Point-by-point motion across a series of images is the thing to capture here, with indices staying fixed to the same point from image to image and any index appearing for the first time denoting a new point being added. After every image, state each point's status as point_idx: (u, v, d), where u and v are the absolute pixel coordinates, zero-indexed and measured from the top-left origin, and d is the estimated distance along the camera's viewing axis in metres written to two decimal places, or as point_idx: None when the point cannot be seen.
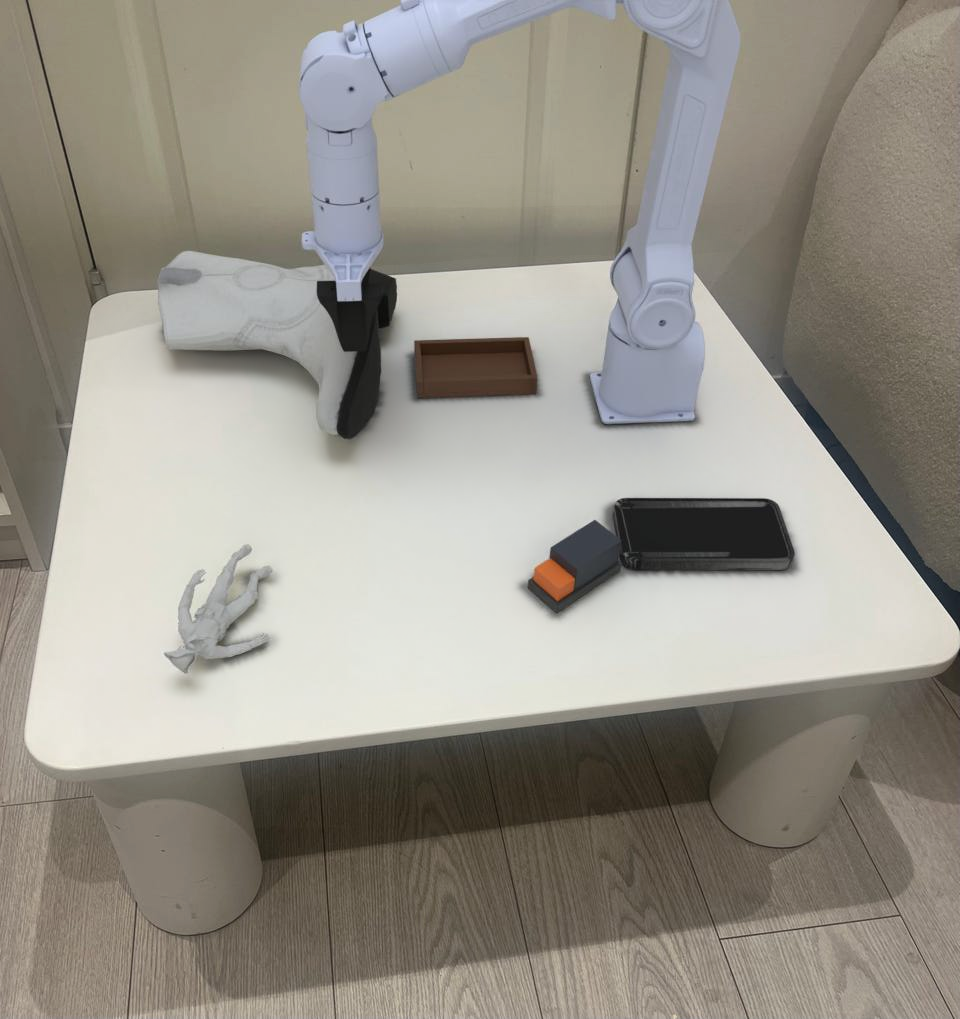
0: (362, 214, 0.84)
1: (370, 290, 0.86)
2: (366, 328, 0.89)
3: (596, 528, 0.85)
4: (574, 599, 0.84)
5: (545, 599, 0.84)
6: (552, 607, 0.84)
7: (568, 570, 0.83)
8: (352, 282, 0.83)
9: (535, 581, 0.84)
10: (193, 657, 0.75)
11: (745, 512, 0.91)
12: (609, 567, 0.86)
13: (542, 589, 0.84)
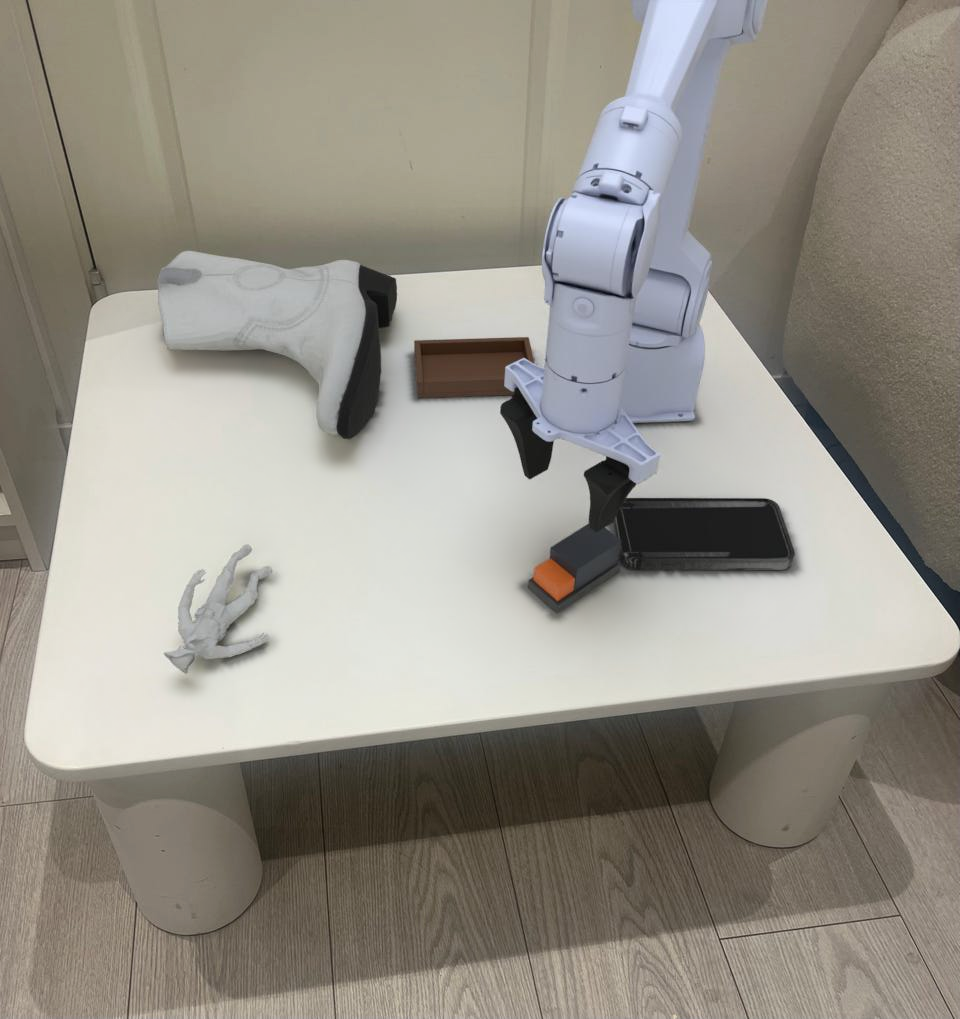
0: (622, 381, 0.72)
1: None
2: (624, 497, 0.77)
3: None
4: (574, 599, 0.84)
5: (545, 599, 0.84)
6: (552, 607, 0.84)
7: (568, 570, 0.83)
8: (654, 458, 0.71)
9: (535, 581, 0.84)
10: (193, 657, 0.75)
11: (745, 512, 0.91)
12: (609, 567, 0.86)
13: (542, 589, 0.84)
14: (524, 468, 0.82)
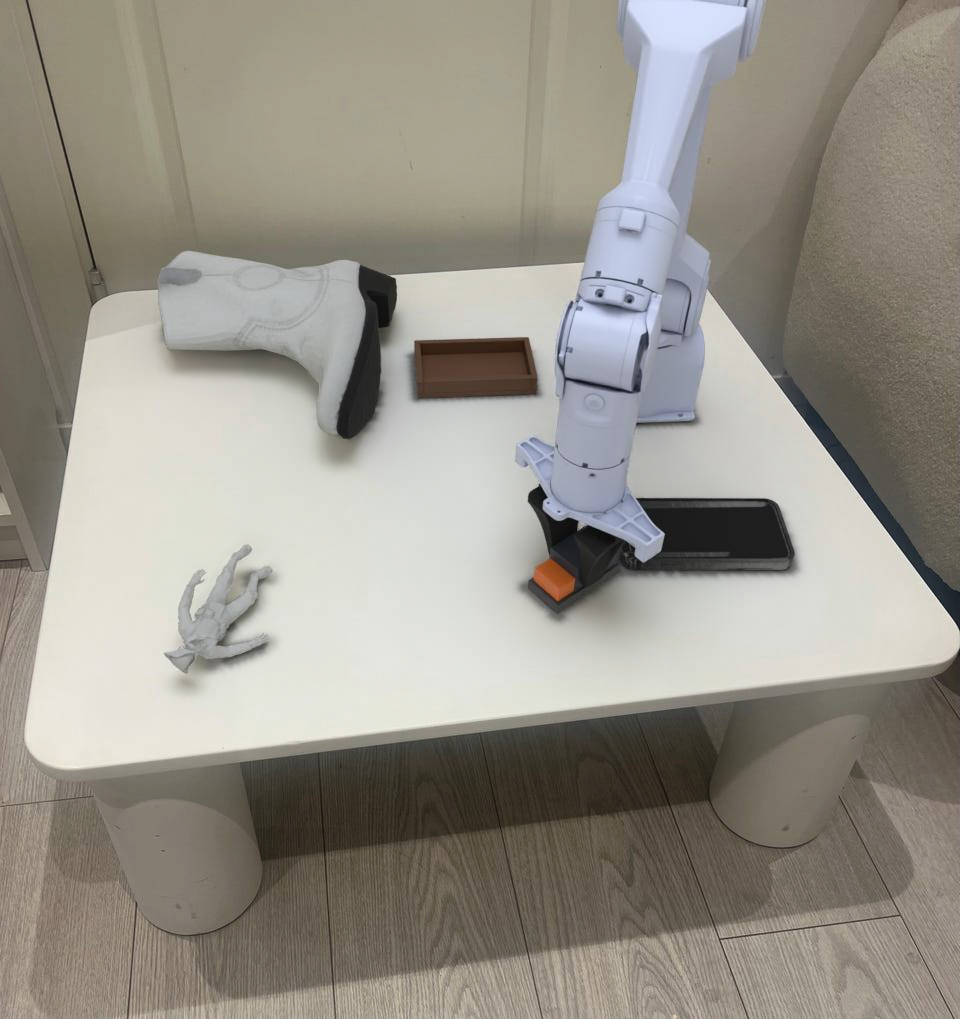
0: (628, 464, 0.76)
1: None
2: (613, 556, 0.82)
3: None
4: (574, 599, 0.84)
5: (545, 599, 0.84)
6: (552, 607, 0.84)
7: (568, 570, 0.83)
8: (658, 538, 0.75)
9: (535, 581, 0.84)
10: (193, 657, 0.75)
11: (745, 512, 0.91)
12: (609, 567, 0.86)
13: (542, 589, 0.84)
14: None
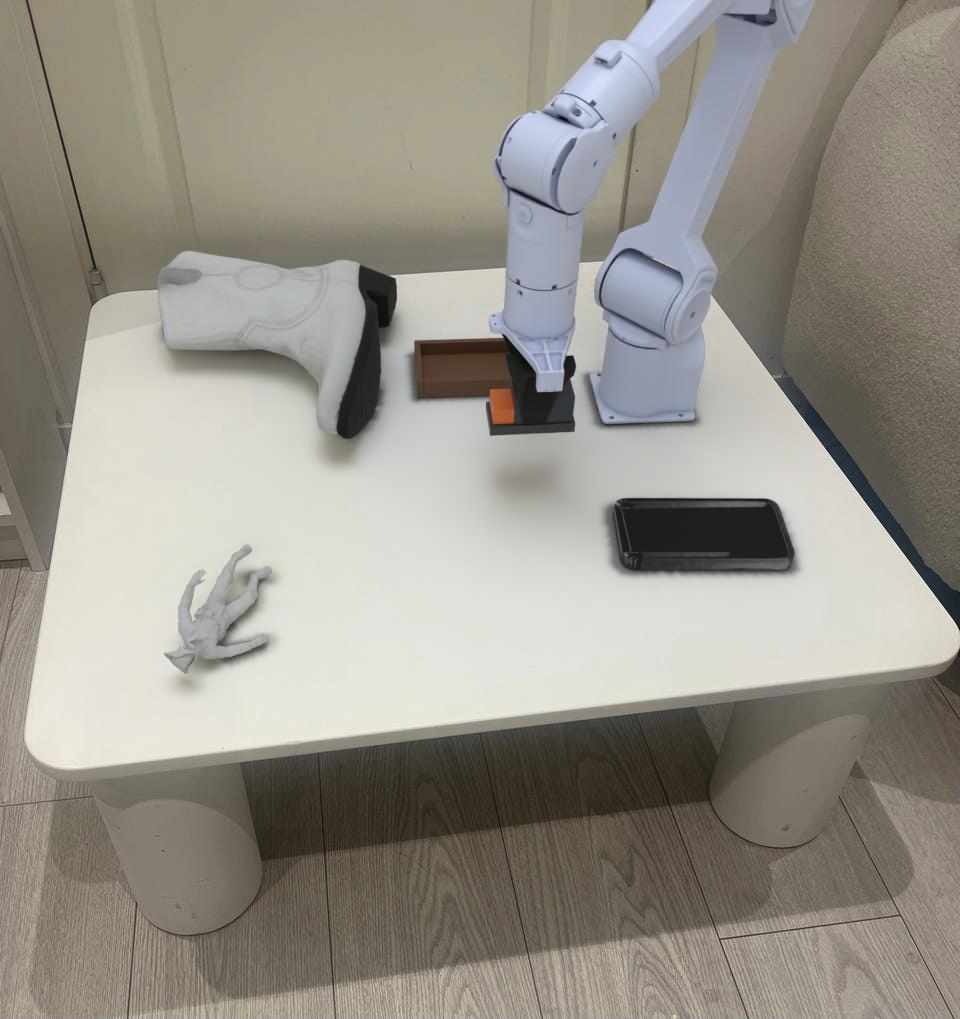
0: (563, 299, 0.79)
1: (563, 363, 0.82)
2: (552, 400, 0.85)
3: None
4: (512, 432, 0.89)
5: (488, 421, 0.89)
6: (489, 429, 0.89)
7: (513, 400, 0.87)
8: (556, 373, 0.78)
9: (489, 404, 0.90)
10: (193, 657, 0.75)
11: (745, 512, 0.91)
12: (560, 420, 0.88)
13: (490, 412, 0.89)
14: None
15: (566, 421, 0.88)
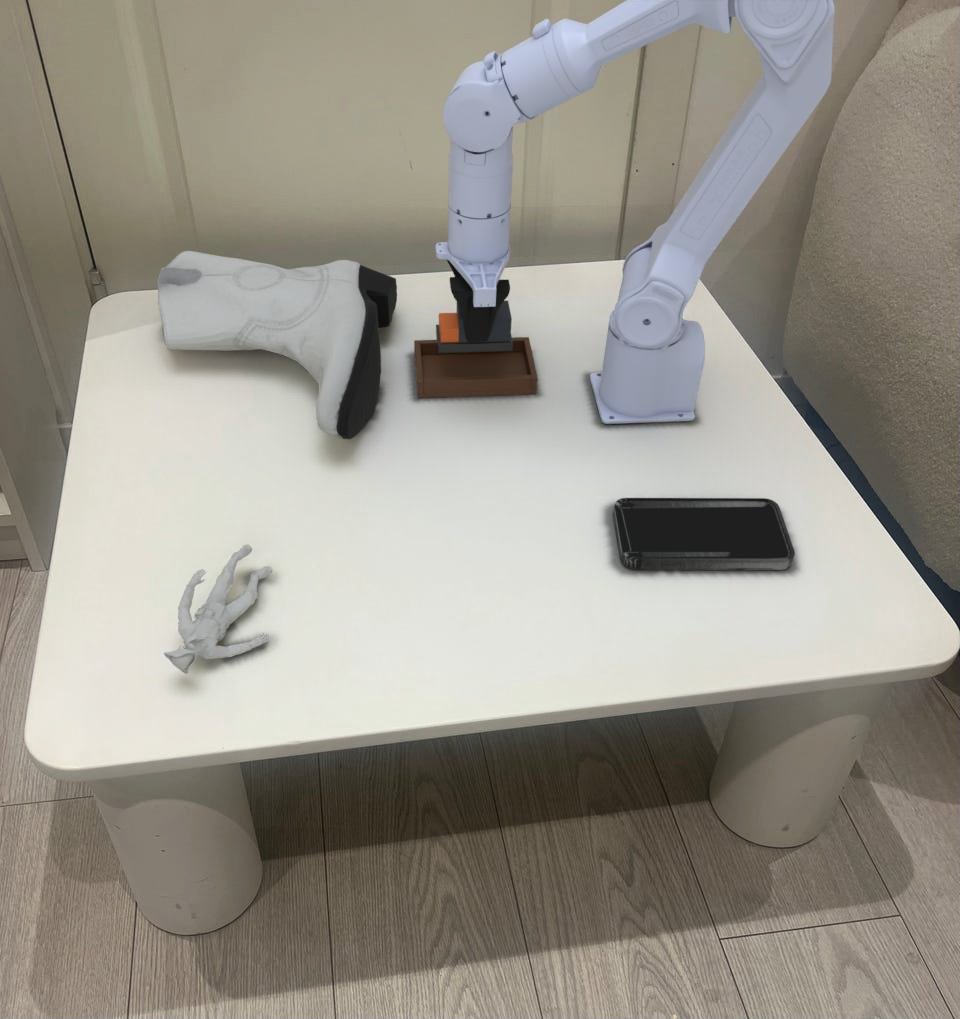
0: (496, 227, 0.92)
1: (498, 285, 0.95)
2: (491, 320, 0.98)
3: (502, 305, 1.01)
4: (458, 350, 1.02)
5: (437, 341, 1.02)
6: None
7: (458, 322, 1.00)
8: (489, 289, 0.91)
9: (438, 326, 1.03)
10: (193, 657, 0.75)
11: (745, 512, 0.91)
12: (499, 340, 1.01)
13: (438, 333, 1.02)
14: None
15: (504, 341, 1.01)
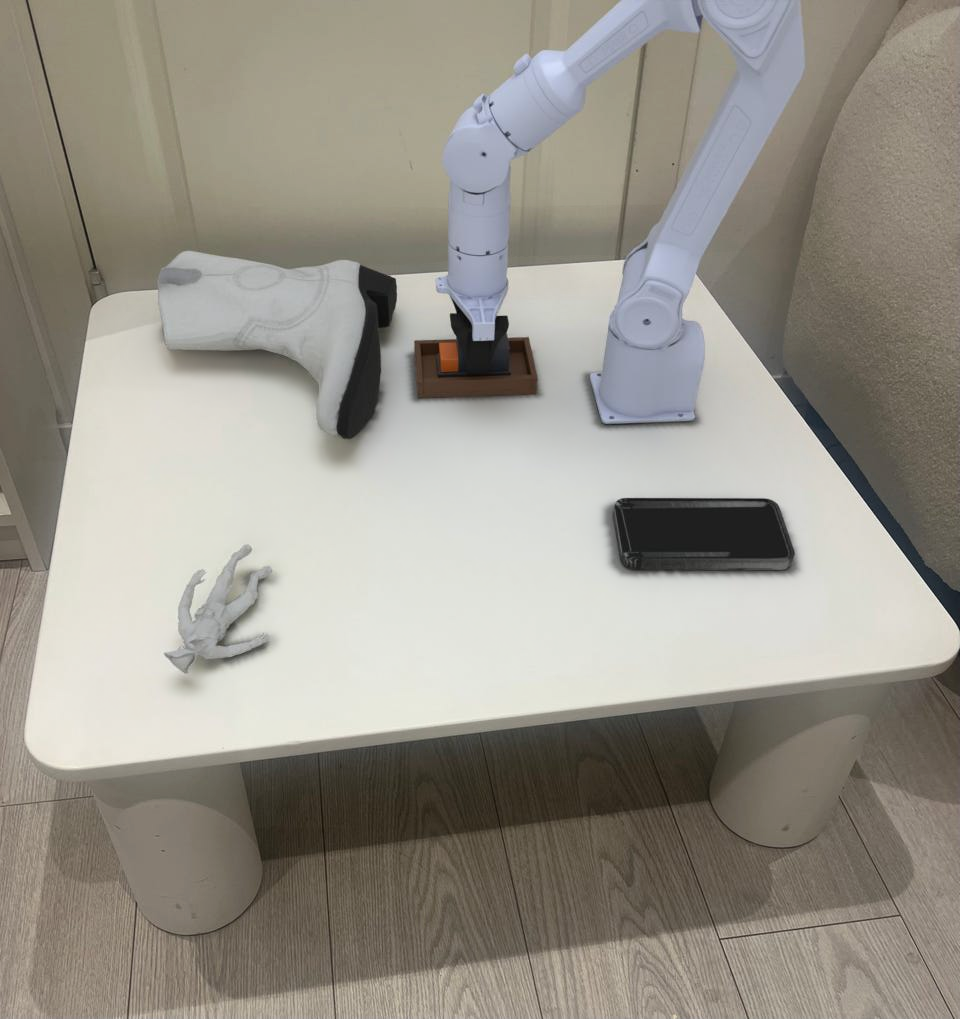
0: (495, 263, 0.94)
1: (497, 321, 0.97)
2: (490, 354, 1.01)
3: None
4: None
5: (437, 370, 1.05)
6: None
7: (457, 352, 1.03)
8: (487, 324, 0.93)
9: (438, 355, 1.05)
10: (193, 657, 0.75)
11: (745, 512, 0.91)
12: (498, 369, 1.04)
13: (439, 362, 1.05)
14: None
15: (503, 370, 1.04)
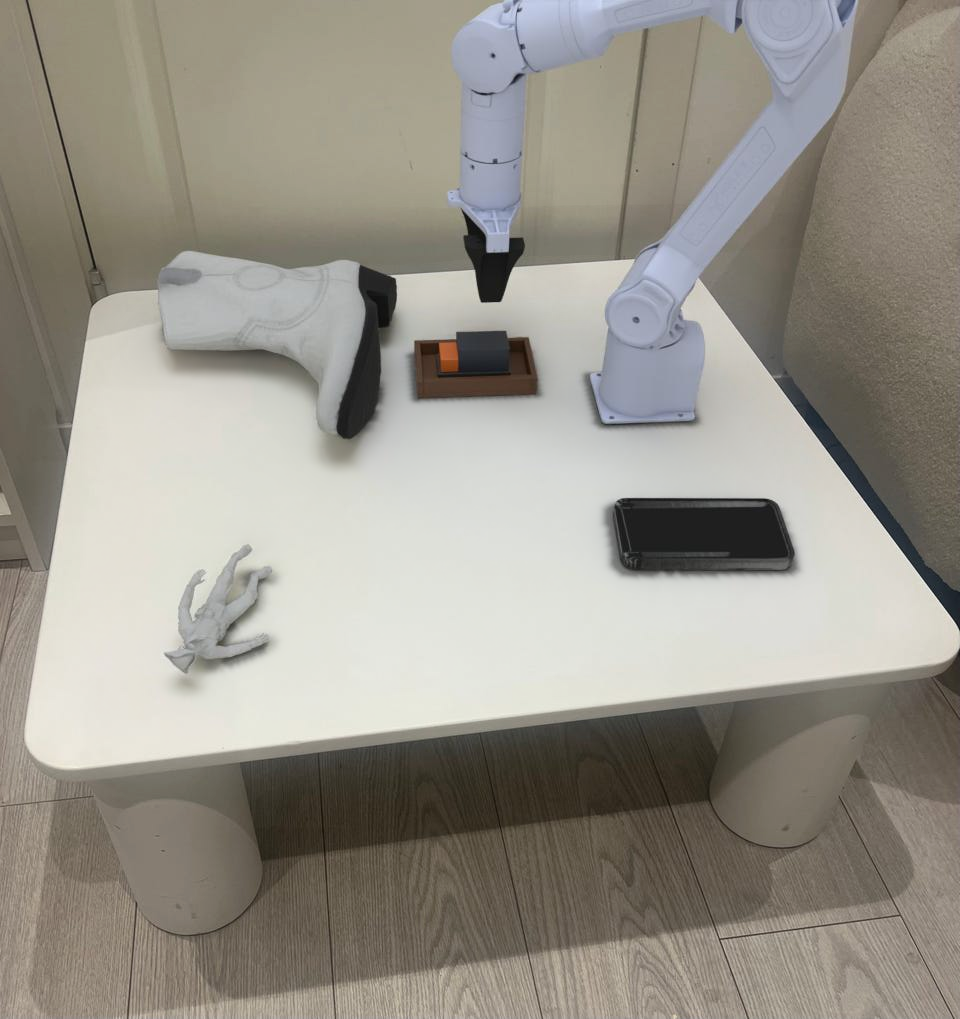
0: (509, 173, 0.92)
1: (513, 243, 0.94)
2: (505, 280, 0.97)
3: (500, 335, 1.04)
4: None
5: (437, 370, 1.05)
6: None
7: (457, 352, 1.03)
8: (502, 234, 0.91)
9: (438, 355, 1.05)
10: (193, 657, 0.75)
11: (745, 512, 0.91)
12: (498, 369, 1.04)
13: (439, 362, 1.05)
14: None
15: (503, 370, 1.04)
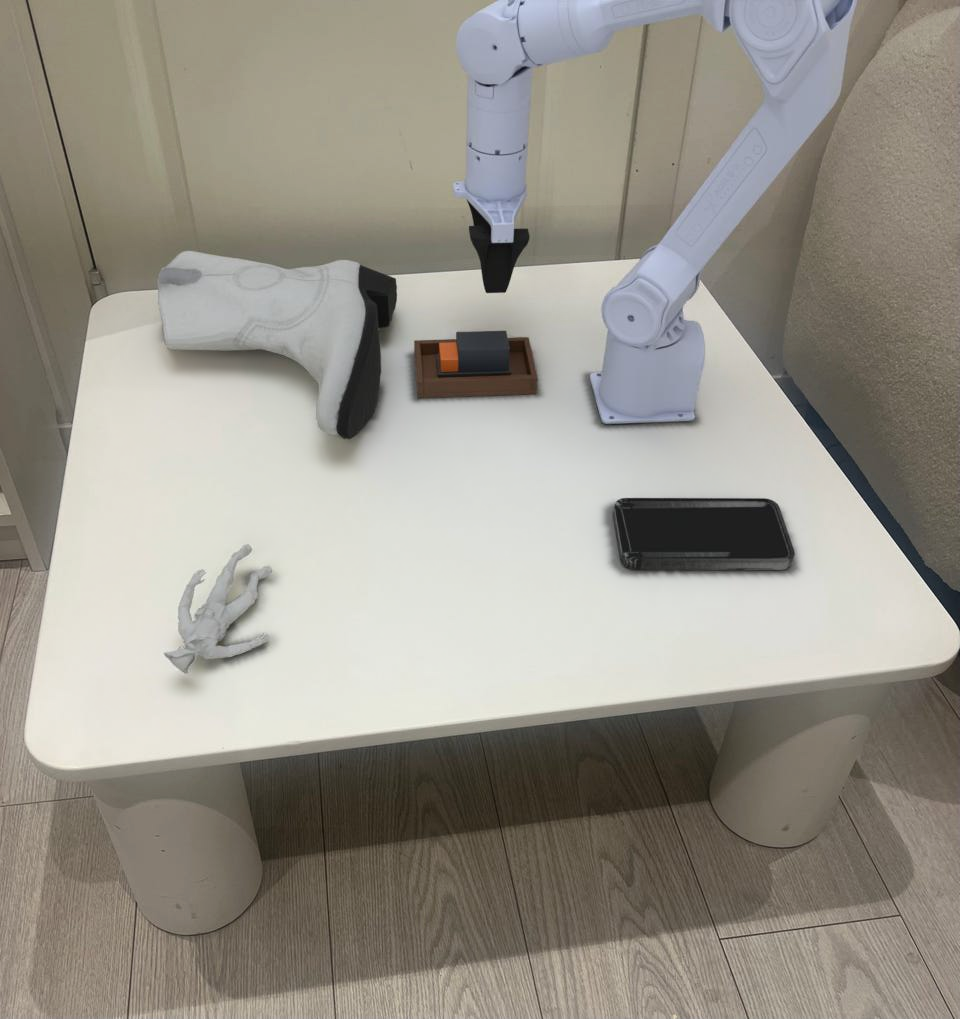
0: (514, 164, 0.93)
1: (518, 234, 0.95)
2: (510, 270, 0.98)
3: (500, 335, 1.04)
4: None
5: (437, 370, 1.05)
6: None
7: (457, 352, 1.03)
8: (507, 225, 0.92)
9: (438, 355, 1.05)
10: (193, 657, 0.75)
11: (745, 512, 0.91)
12: (498, 369, 1.04)
13: (439, 362, 1.05)
14: None
15: (503, 370, 1.04)
